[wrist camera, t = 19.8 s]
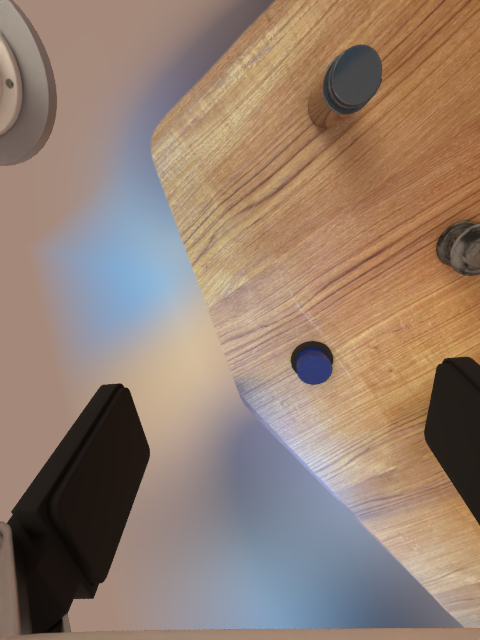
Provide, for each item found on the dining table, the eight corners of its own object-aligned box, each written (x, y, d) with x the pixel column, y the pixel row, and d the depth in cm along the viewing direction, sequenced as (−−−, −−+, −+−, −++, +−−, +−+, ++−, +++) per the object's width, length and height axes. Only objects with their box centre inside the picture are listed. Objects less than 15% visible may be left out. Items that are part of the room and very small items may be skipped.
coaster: (286, 371, 46) (286, 373, 45) (297, 337, 43) (298, 339, 43) (324, 379, 46) (325, 381, 46) (338, 346, 44) (339, 348, 43)
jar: (302, 123, 32) (320, 102, 23) (315, 74, 30) (339, 32, 21) (340, 132, 32) (372, 115, 23) (355, 85, 31) (396, 47, 22)
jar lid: (329, 345, 43) (332, 354, 41) (329, 374, 45) (333, 383, 43) (294, 348, 43) (296, 357, 41) (296, 376, 45) (298, 385, 43)
